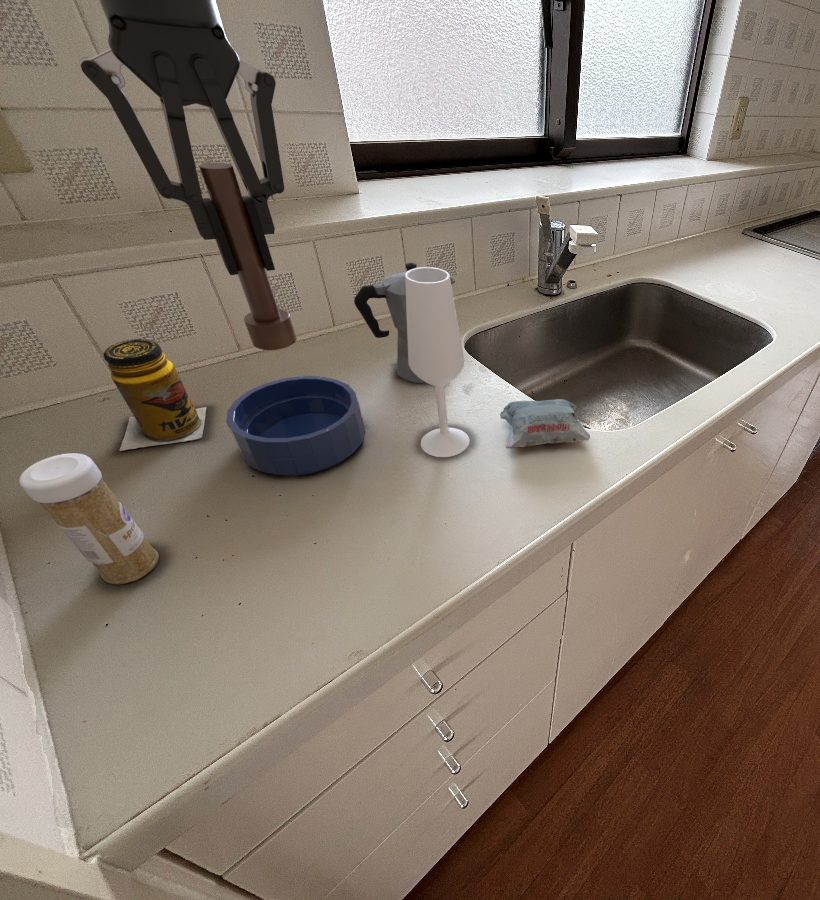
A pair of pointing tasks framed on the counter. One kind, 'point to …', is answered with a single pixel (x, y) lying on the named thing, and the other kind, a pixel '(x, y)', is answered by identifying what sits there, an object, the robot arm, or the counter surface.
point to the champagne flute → (435, 349)
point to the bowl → (297, 425)
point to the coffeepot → (396, 301)
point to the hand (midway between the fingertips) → (250, 267)
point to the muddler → (247, 260)
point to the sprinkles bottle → (90, 516)
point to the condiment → (152, 396)
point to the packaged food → (542, 423)
